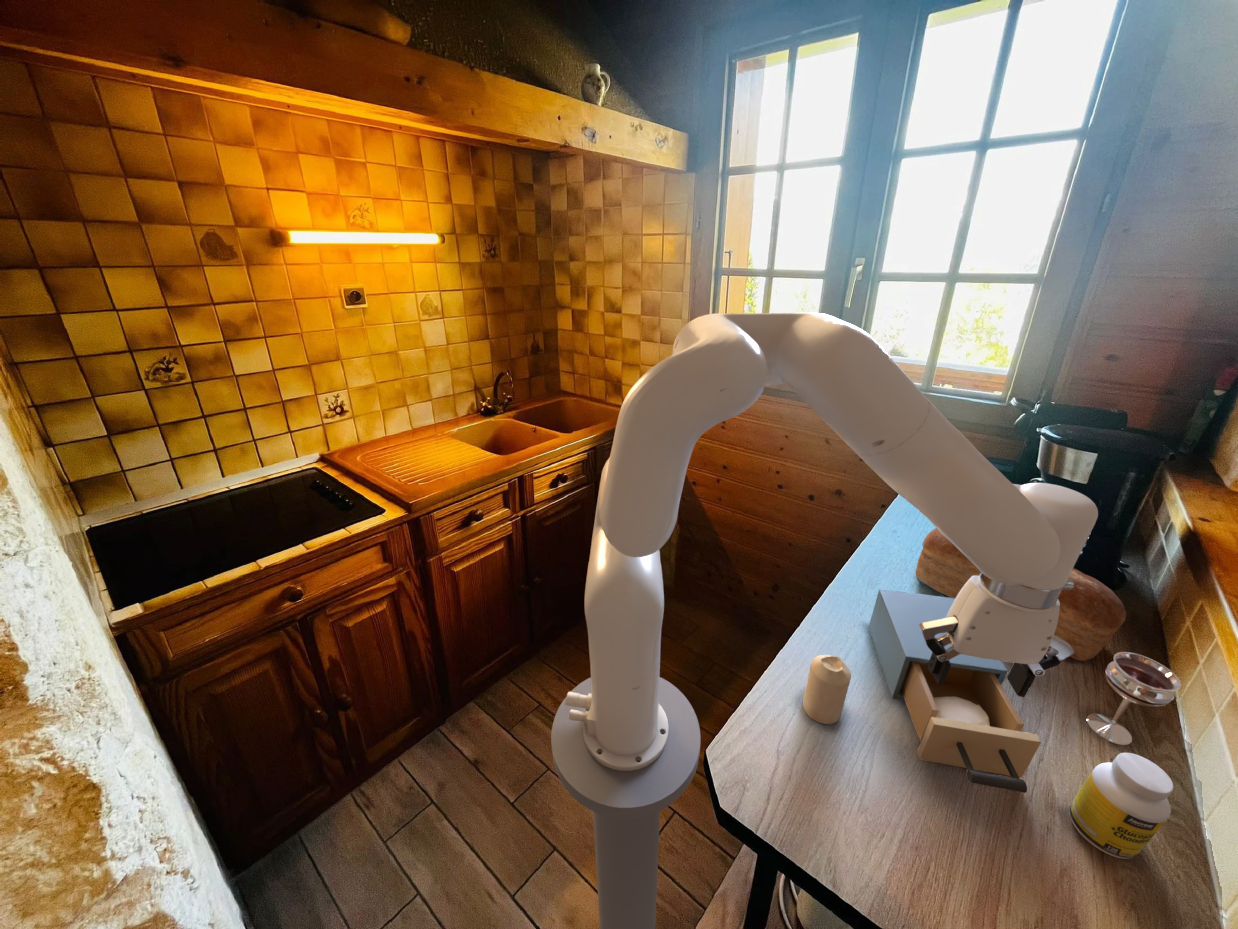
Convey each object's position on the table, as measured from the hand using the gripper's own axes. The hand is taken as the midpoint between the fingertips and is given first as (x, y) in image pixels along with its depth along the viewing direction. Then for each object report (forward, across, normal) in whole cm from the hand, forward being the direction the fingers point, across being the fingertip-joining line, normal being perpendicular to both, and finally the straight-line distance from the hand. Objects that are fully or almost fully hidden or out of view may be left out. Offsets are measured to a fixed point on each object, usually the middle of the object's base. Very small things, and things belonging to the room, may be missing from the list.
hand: (974, 681), depth 66 cm
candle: (+12, +18, -1) cm, 21 cm away
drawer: (+10, 0, +1) cm, 10 cm away
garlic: (+10, 0, 0) cm, 10 cm away
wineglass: (+11, -23, -6) cm, 27 cm away
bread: (+11, -19, -31) cm, 38 cm away
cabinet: (+11, 0, -13) cm, 17 cm away
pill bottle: (+12, -13, +10) cm, 20 cm away
